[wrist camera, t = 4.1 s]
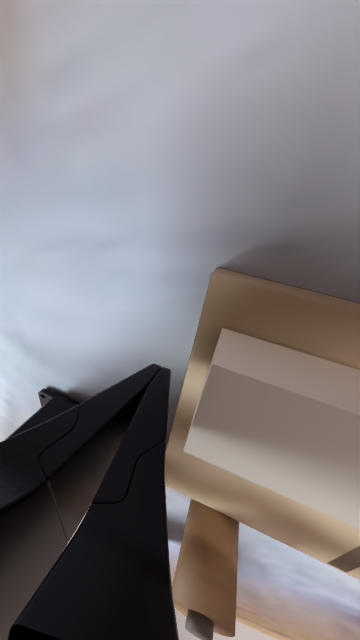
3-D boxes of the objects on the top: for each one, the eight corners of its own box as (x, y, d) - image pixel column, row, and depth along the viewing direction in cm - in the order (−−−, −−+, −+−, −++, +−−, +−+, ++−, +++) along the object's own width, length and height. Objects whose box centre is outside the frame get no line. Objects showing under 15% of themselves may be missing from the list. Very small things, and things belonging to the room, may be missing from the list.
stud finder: (360, 470, 9) (396, 550, 7) (196, 405, 11) (182, 454, 8) (449, 397, 7) (548, 484, 5) (222, 327, 8) (211, 366, 6)
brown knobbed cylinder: (231, 518, 18) (222, 657, 12) (188, 498, 18) (162, 619, 13) (246, 499, 16) (244, 653, 10) (198, 477, 17) (171, 609, 11)
